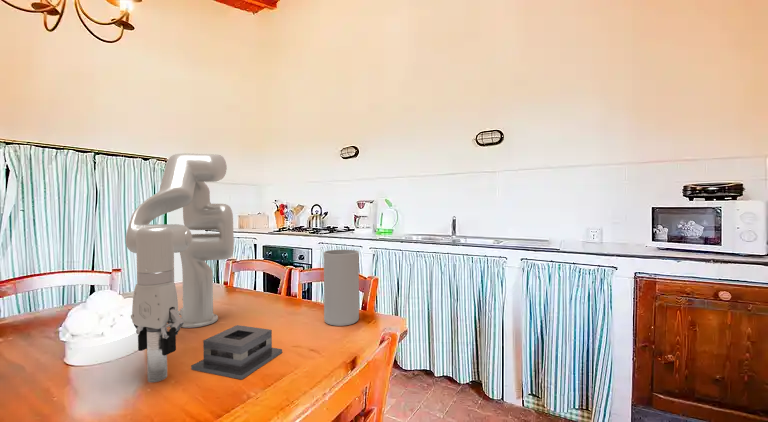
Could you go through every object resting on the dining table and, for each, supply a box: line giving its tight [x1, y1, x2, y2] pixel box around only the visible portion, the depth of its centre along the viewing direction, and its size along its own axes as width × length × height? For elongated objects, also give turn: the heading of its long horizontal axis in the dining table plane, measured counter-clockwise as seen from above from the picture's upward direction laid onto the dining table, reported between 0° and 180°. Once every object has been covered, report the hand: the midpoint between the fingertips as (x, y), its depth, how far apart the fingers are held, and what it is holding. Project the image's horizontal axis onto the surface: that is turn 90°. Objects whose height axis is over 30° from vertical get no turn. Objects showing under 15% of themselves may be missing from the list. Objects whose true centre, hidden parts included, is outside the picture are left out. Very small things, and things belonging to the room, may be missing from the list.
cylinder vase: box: [323, 249, 360, 327], centre depth 125 cm, size 12×12×25 cm
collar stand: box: [190, 324, 283, 380], centre depth 93 cm, size 16×16×7 cm
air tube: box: [146, 327, 168, 383], centre depth 84 cm, size 4×4×15 cm
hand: (157, 350), depth 84 cm, fingers open, 7 cm apart
